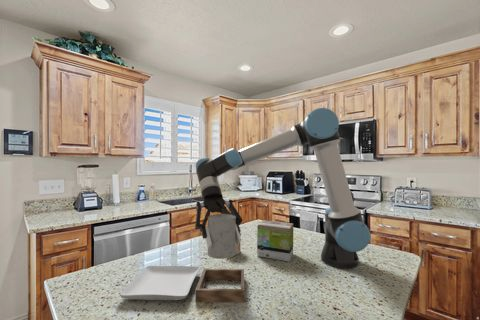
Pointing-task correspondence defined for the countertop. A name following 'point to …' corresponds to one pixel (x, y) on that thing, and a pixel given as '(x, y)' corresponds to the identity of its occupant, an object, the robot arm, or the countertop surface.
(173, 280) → the salad plate
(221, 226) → the grey speckled cylinder
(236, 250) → the teacup with lid
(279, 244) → the tea box
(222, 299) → the collar
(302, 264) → the countertop surface
